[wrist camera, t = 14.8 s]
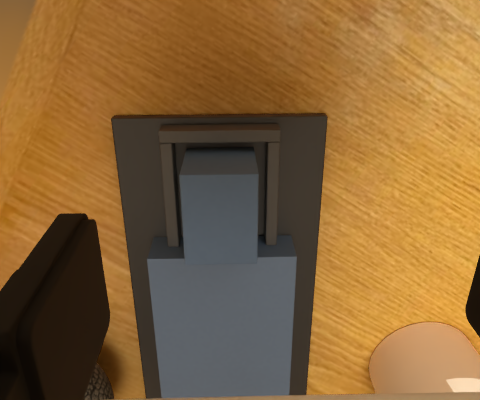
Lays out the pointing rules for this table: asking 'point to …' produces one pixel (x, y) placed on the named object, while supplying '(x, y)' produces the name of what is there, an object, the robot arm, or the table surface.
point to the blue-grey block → (219, 206)
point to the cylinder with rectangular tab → (425, 361)
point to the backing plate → (289, 215)
